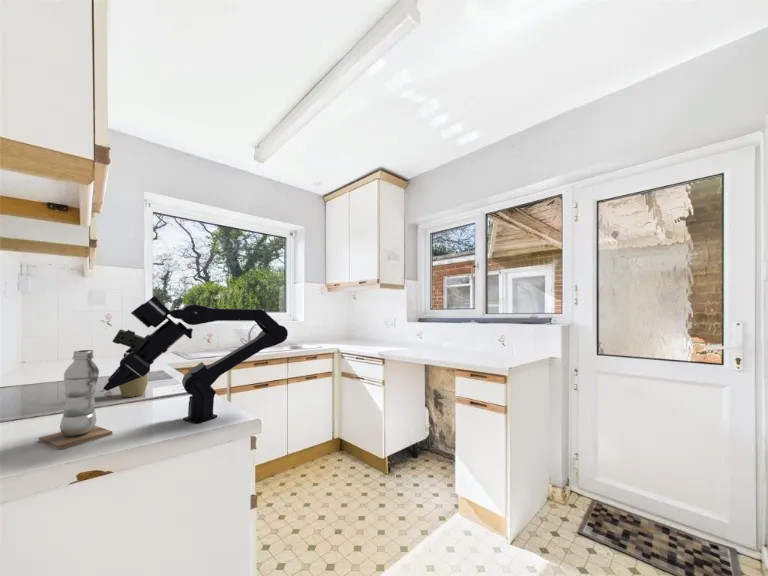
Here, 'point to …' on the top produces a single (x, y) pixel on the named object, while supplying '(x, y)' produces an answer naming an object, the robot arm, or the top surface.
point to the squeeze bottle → (134, 387)
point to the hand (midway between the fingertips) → (107, 385)
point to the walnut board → (74, 438)
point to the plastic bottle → (80, 394)
